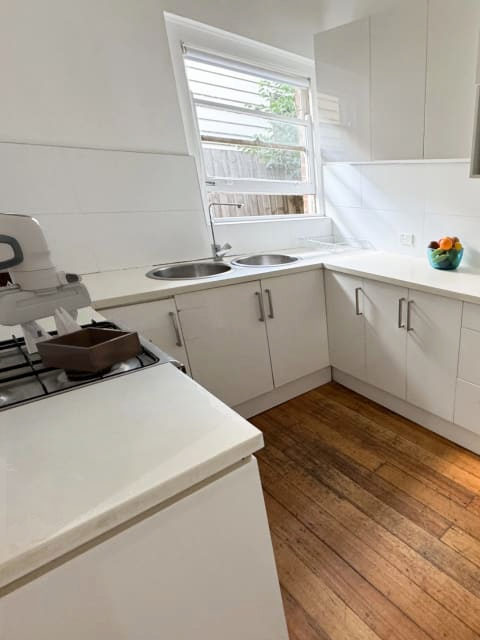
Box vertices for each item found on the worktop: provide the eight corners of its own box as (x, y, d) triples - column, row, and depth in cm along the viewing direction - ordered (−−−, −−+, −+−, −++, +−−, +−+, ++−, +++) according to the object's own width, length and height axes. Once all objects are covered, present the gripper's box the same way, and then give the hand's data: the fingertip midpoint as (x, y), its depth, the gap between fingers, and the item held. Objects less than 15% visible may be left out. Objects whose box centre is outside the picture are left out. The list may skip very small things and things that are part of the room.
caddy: (95, 372, 88) (87, 349, 86) (43, 365, 91) (35, 343, 89) (143, 352, 99) (137, 331, 97) (95, 347, 103) (89, 326, 100)
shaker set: (89, 341, 107) (77, 302, 103) (87, 345, 104) (75, 306, 100) (32, 349, 101) (17, 309, 97) (28, 354, 98) (12, 313, 94)
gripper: (-4, 289, 86) (19, 346, 91) (87, 273, 105) (102, 321, 109) (-25, 288, 87) (-1, 344, 92) (69, 272, 106) (84, 320, 111)
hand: (55, 332), depth 101 cm, fingers closed on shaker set, 7 cm apart
